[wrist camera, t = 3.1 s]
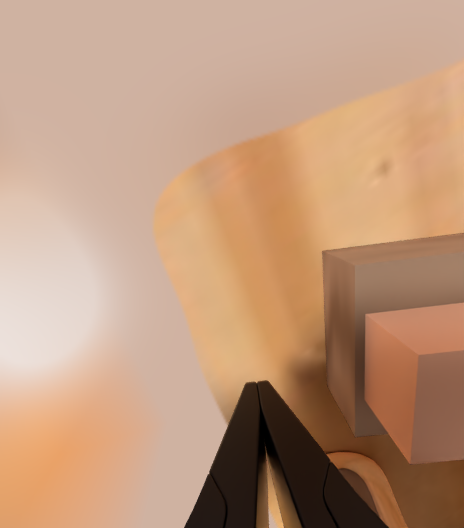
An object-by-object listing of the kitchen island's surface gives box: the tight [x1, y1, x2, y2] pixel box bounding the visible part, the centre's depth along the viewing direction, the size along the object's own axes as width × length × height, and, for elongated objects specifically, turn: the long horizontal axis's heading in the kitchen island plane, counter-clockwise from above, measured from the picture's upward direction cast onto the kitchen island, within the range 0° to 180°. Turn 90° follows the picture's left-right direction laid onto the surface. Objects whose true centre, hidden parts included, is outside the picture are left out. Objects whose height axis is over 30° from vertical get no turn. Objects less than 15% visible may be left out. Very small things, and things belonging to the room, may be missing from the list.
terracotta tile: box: [364, 303, 464, 465], centre depth 8 cm, size 4×4×2 cm
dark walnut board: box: [322, 233, 464, 437], centre depth 10 cm, size 8×9×3 cm
